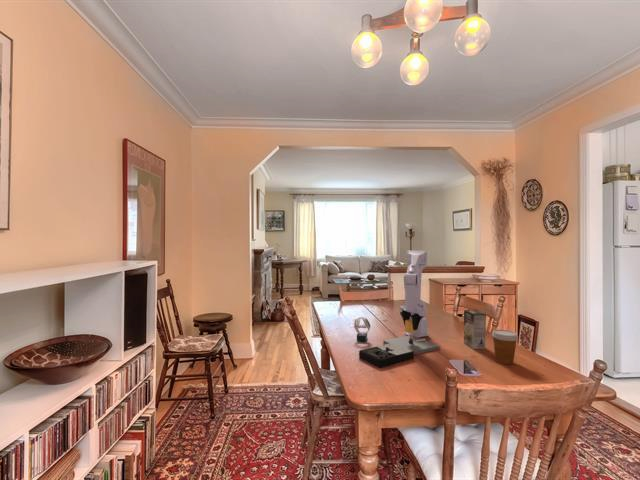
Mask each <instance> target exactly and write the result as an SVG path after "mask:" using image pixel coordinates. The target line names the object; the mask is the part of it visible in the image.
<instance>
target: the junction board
mask: <svg viewBox="0 0 640 480" xmlns="http://www.w3.org/2000/svg"><path fill="white" fill-rule="evenodd" d="M390 343H393V344H396V345H398V346H401V347H404V348H406V349H409V350H411V351H413V352H414V355H418V354H423V353H427V352H432V351H437V350H441V346H440V345H438V344H436V343H434V342H430V341H428V340H427V339H426V338H422V337H415V336H413V344H410V343H409V336H408V335H405V336H401V337H400V336H399V337H395V338H389V339H384V340H383V345H385V344H390Z"/></svg>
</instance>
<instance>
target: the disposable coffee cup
mask: <svg viewBox="0 0 640 480" xmlns="http://www.w3.org/2000/svg"><path fill="white" fill-rule="evenodd" d="M491 336H492V340H493V342H492V343H493V348H494V356H495V361H496V362H497V363H499V364H503V365H513V364H514V361H515V353H516V348H517V342H518V341H517V340H518V339H519V336H518V334H517V333H516V331H512V330H508V329H507V330H506V329H494V330H493V331H492V332H491Z"/></svg>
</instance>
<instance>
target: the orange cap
mask: <svg viewBox="0 0 640 480" xmlns="http://www.w3.org/2000/svg"><path fill="white" fill-rule="evenodd" d="M404 327H405V328H404V333H416V331H417V330H413V324H412V319H407V320H405V325H404Z"/></svg>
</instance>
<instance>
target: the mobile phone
mask: <svg viewBox="0 0 640 480" xmlns="http://www.w3.org/2000/svg"><path fill="white" fill-rule="evenodd" d="M448 362H449V363H450V364H451V365H452V366H453V367H454V369H455V370H456V369H457V370H458V371H457V370H456V371H457V372H458V373H459V374H460V375H461V376H464V377H465V376H466V377H467V376H469V377H473V376H474V377H478V376H479V377H481V376H482V373H481V372H480V371H479V370H478V369H477V368H476V367H475V366H474V365H473V364H472V363H470V361H469V360H467V359H449V361H448Z"/></svg>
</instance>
